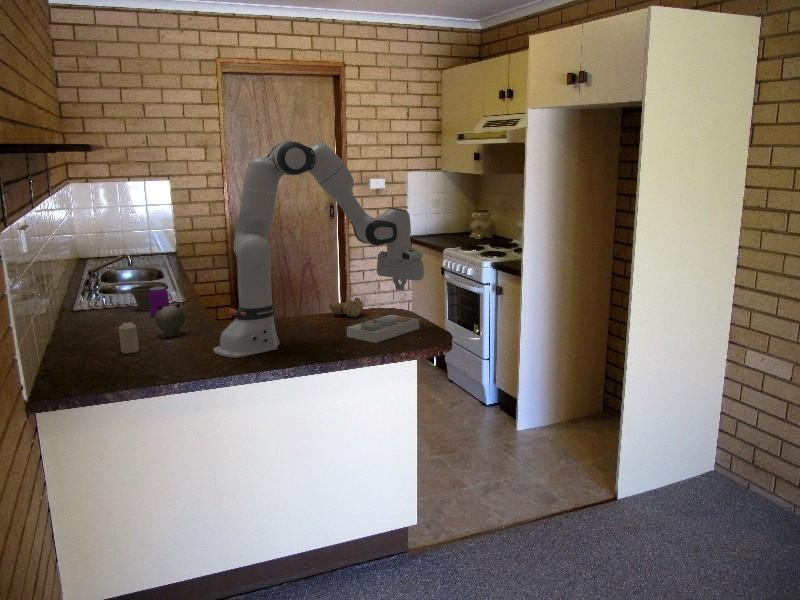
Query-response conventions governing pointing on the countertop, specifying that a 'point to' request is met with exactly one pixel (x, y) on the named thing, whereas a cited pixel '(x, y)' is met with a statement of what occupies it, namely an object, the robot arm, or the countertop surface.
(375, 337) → the keypad
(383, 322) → the grey key
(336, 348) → the countertop surface
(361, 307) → the ginger root
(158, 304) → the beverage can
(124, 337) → the candle
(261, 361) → the countertop surface
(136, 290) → the flower pot
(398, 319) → the terracotta key
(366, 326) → the sage key
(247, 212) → the robot arm
